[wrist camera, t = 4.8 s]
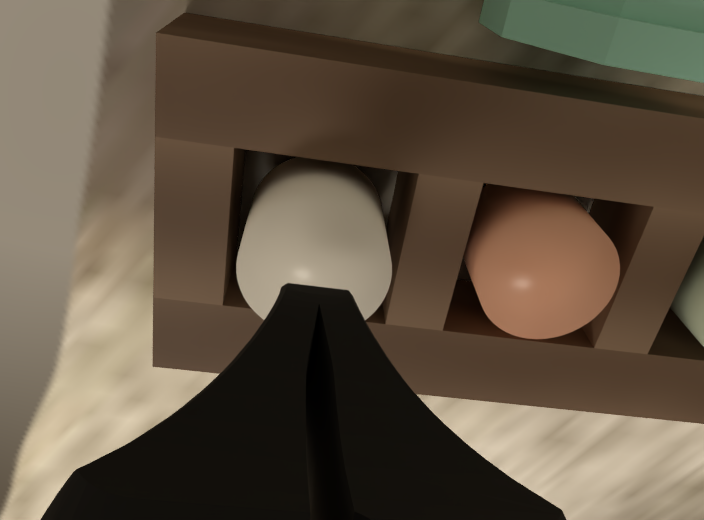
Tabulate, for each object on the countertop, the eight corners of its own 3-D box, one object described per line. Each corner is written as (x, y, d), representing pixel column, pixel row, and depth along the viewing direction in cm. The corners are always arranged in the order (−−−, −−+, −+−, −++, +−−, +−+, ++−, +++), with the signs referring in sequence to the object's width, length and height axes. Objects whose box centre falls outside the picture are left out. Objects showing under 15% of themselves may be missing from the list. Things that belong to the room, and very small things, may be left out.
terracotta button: (557, 288, 20) (592, 346, 17) (445, 274, 19) (463, 331, 17) (596, 182, 18) (641, 228, 15) (474, 164, 18) (499, 208, 15)
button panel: (750, 372, 22) (806, 434, 20) (175, 307, 20) (152, 366, 18) (893, 126, 18) (989, 163, 15) (184, 12, 16) (155, 33, 13)
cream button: (370, 281, 18) (376, 343, 16) (245, 266, 18) (230, 327, 15) (393, 165, 17) (405, 212, 14) (256, 145, 16) (242, 190, 14)
